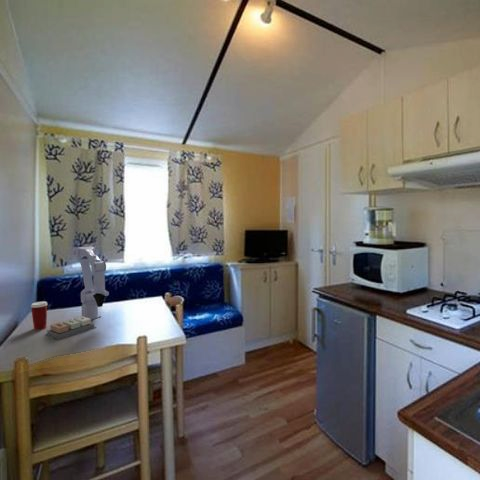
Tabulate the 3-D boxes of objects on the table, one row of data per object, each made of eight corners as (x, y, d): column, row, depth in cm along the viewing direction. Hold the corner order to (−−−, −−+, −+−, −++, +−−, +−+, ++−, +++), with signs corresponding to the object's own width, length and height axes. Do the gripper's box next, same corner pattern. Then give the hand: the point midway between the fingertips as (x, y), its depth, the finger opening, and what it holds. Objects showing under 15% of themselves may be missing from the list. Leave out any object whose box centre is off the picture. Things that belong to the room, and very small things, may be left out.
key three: (50, 329, 149) (50, 324, 149) (59, 327, 153) (59, 322, 153) (59, 333, 144) (59, 327, 144) (68, 330, 148) (68, 325, 148)
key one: (74, 322, 159) (73, 318, 159) (82, 320, 163) (82, 315, 163) (83, 325, 154) (82, 321, 154) (91, 323, 158) (91, 318, 158)
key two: (62, 326, 154) (62, 321, 154) (71, 323, 158) (71, 318, 158) (71, 329, 149) (71, 324, 149) (80, 326, 153) (80, 321, 153)
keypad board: (45, 334, 149) (44, 330, 149) (83, 323, 166) (83, 319, 166) (57, 340, 142) (57, 335, 142) (96, 327, 159) (96, 323, 159)
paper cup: (51, 326, 160) (50, 301, 159) (38, 331, 153) (37, 305, 152) (41, 325, 163) (40, 300, 162) (28, 329, 156) (26, 304, 155)
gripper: (85, 282, 162) (85, 306, 163) (100, 285, 155) (100, 310, 156) (96, 280, 168) (97, 303, 169) (111, 283, 161) (112, 307, 161)
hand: (100, 306), depth 163 cm, fingers closed
